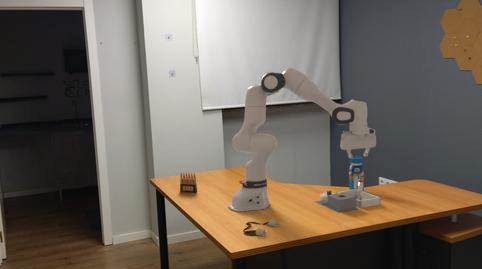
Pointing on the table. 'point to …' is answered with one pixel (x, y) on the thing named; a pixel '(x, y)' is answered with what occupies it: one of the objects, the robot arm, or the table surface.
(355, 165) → the beverage bottle
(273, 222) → the cable
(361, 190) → the lock pin
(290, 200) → the table surface
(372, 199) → the tray
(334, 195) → the grey rectangular block
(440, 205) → the table surface
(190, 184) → the ammunition clip
